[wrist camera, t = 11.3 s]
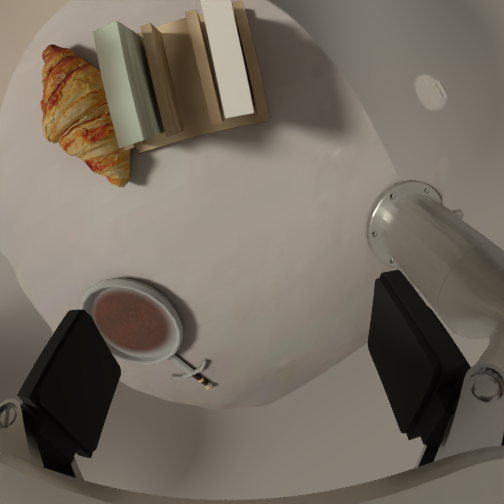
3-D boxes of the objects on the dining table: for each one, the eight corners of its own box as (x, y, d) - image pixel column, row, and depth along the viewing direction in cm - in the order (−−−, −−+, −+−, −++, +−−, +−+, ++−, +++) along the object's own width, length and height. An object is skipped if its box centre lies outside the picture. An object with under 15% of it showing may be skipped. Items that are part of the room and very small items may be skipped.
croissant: (156, 162, 35) (169, 158, 29) (92, 209, 33) (89, 216, 26) (82, 40, 26) (81, 11, 19) (18, 82, 23) (2, 61, 16)
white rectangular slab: (230, 20, 24) (227, -12, 16) (249, 111, 29) (254, 113, 21) (209, 24, 24) (199, -6, 16) (228, 115, 29) (225, 118, 21)
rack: (243, 8, 24) (246, -30, 15) (269, 120, 30) (283, 125, 21) (115, 45, 25) (71, 28, 15) (140, 152, 31) (104, 172, 22)
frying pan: (178, 406, 51) (60, 316, 39) (179, 394, 53) (66, 305, 41) (250, 377, 47) (121, 261, 35) (249, 364, 49) (128, 250, 37)
